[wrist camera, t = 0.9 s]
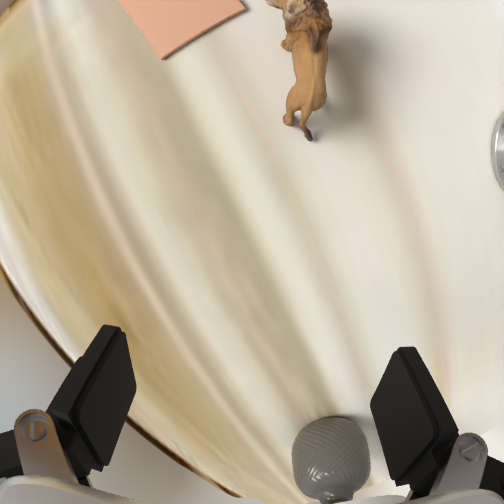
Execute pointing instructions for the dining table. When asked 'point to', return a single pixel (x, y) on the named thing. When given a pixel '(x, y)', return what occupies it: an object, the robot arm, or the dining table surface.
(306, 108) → the lion figurine
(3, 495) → the robot arm
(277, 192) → the dining table surface
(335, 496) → the lamp
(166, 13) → the terracotta tile
